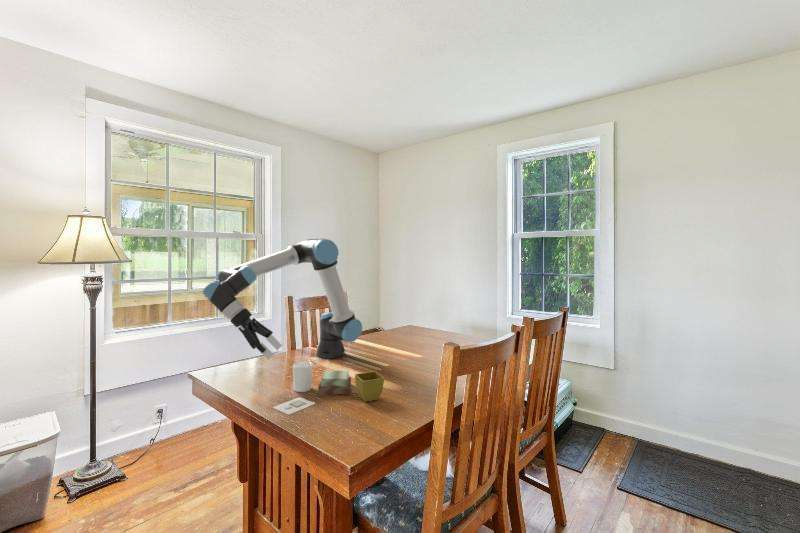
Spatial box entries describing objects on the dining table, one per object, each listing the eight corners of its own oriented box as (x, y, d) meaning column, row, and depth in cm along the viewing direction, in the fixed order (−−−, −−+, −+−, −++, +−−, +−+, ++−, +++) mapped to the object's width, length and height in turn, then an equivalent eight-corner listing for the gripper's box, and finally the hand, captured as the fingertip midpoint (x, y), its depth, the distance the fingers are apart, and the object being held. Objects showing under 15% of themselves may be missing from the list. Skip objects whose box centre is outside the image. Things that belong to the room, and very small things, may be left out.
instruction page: (299, 397, 139) (299, 396, 139) (315, 403, 133) (315, 402, 133) (272, 407, 129) (272, 406, 129) (288, 415, 124) (288, 414, 124)
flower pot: (362, 405, 133) (362, 381, 133) (353, 396, 141) (354, 373, 141) (384, 401, 137) (384, 378, 137) (374, 393, 145) (375, 371, 145)
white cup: (306, 384, 153) (306, 360, 152) (316, 389, 147) (316, 365, 147) (288, 388, 147) (289, 364, 147) (298, 394, 142) (299, 368, 141)
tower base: (318, 394, 142) (318, 379, 142) (322, 383, 154) (322, 369, 153) (349, 394, 143) (349, 379, 143) (350, 383, 155) (351, 369, 154)
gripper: (241, 315, 156) (276, 350, 158) (217, 327, 131) (259, 368, 133) (254, 303, 156) (289, 338, 158) (232, 312, 132) (274, 354, 133)
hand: (275, 352), depth 146 cm, fingers open, 13 cm apart
